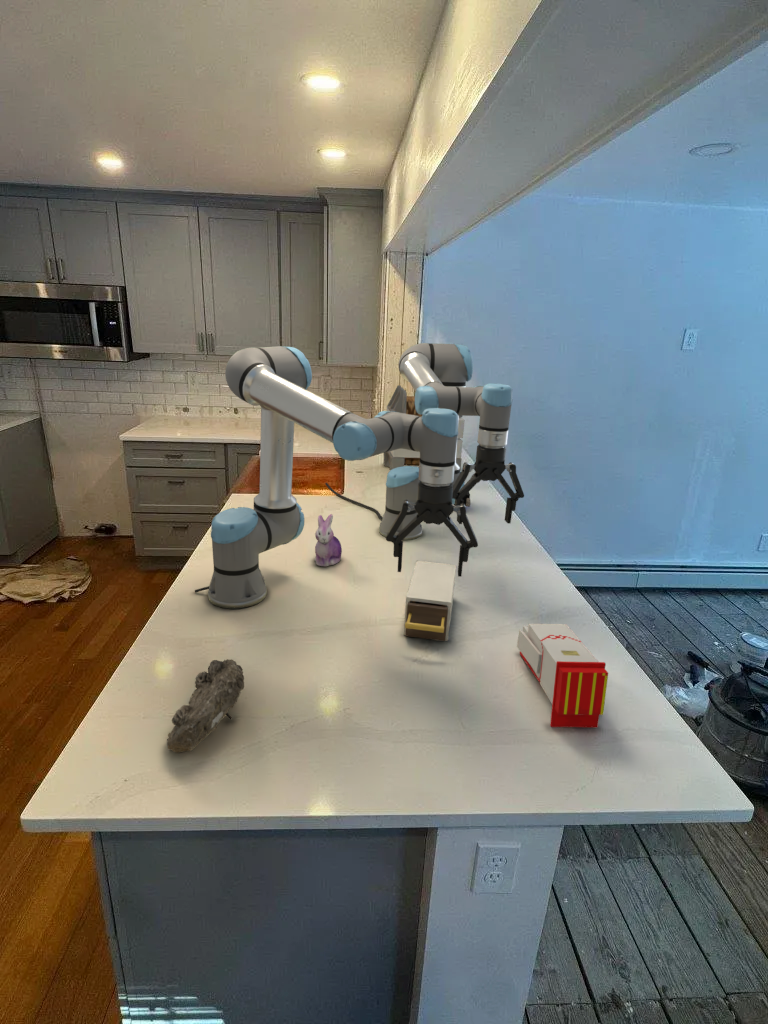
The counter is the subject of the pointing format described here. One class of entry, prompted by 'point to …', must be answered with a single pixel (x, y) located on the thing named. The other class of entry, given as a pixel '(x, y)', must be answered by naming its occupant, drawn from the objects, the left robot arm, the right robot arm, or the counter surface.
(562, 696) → the toy
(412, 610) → the drawer
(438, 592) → the cabinet
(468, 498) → the figurine character
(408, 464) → the transformer
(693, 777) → the counter surface
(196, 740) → the fossil
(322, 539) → the figurine
